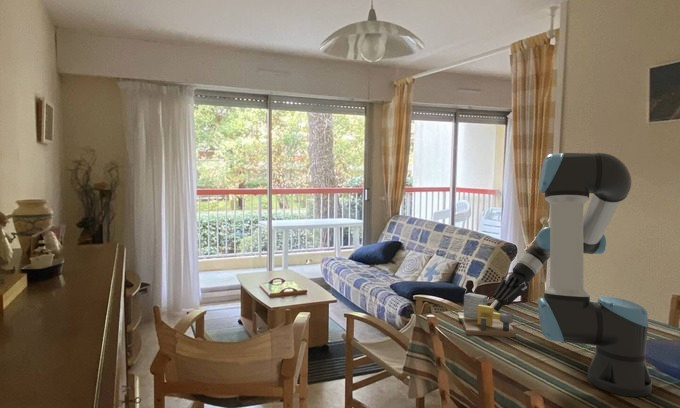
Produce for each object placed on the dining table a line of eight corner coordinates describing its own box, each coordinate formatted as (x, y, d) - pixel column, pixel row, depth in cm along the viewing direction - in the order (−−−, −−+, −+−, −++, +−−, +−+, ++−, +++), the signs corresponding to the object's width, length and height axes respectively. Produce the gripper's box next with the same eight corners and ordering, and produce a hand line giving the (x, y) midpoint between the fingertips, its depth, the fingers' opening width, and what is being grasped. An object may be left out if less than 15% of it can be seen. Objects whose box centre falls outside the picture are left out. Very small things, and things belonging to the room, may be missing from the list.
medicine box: (487, 317, 174) (488, 296, 174) (482, 320, 171) (483, 298, 170) (468, 313, 179) (468, 292, 179) (463, 316, 176) (463, 294, 175)
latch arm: (513, 328, 162) (514, 309, 161) (510, 332, 158) (511, 312, 158) (480, 321, 169) (480, 303, 168) (476, 325, 165) (476, 306, 165)
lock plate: (515, 337, 159) (516, 320, 159) (463, 334, 162) (463, 317, 161) (503, 318, 179) (504, 304, 178) (457, 316, 181) (457, 301, 181)
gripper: (544, 278, 165) (504, 327, 162) (521, 271, 177) (483, 316, 174) (533, 265, 163) (492, 314, 160) (510, 258, 176) (471, 304, 172)
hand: (487, 315), depth 167 cm, fingers closed
